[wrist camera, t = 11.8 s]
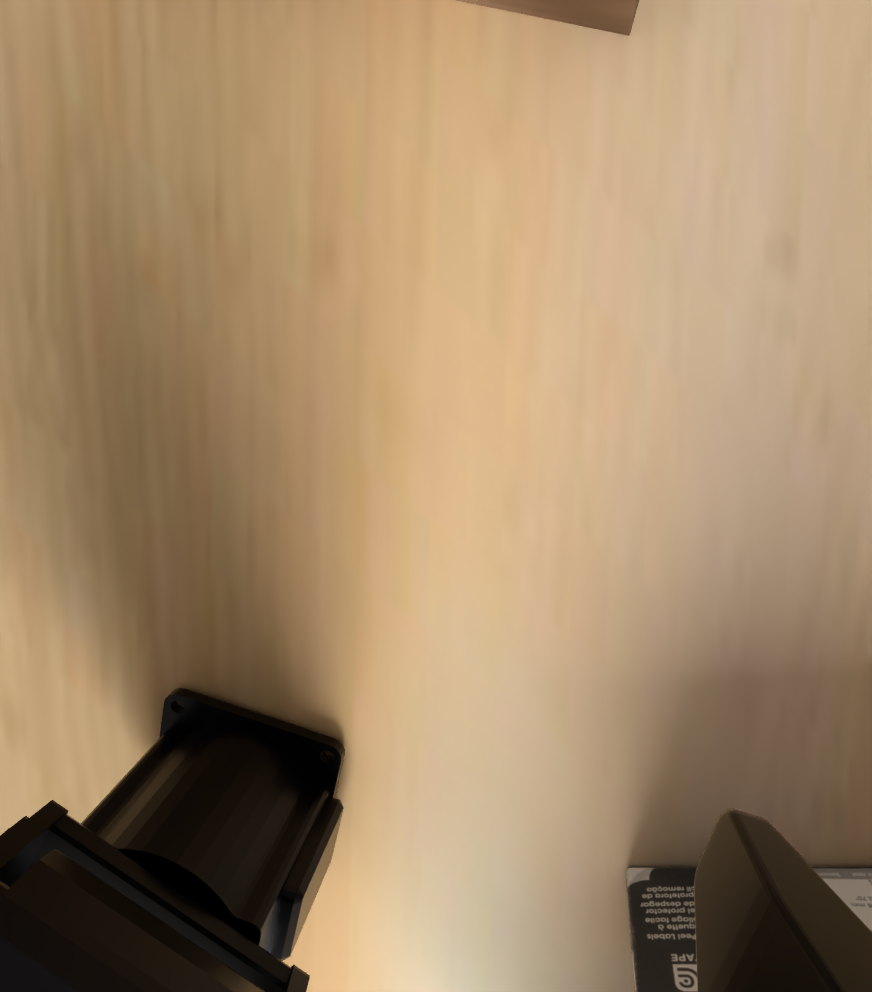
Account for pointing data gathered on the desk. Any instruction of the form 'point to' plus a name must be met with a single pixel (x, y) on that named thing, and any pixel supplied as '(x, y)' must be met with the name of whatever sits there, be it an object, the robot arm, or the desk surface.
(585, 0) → the block
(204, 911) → the robot arm
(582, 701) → the desk surface
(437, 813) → the desk surface
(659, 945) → the label tape cartridge
